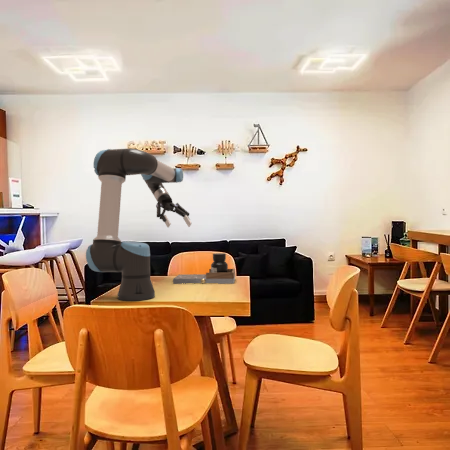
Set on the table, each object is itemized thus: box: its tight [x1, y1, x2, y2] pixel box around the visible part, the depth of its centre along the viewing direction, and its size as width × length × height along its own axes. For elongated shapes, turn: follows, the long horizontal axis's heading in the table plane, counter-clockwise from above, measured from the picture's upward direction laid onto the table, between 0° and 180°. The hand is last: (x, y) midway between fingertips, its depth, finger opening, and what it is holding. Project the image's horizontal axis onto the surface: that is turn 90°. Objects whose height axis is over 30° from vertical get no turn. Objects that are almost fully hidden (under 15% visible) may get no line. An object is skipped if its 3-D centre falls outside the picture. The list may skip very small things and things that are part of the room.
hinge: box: [172, 273, 236, 285], centre depth 203 cm, size 18×31×3 cm, turn 86°
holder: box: [205, 268, 236, 279], centre depth 202 cm, size 16×14×3 cm
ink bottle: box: [210, 252, 229, 273], centre depth 203 cm, size 10×9×12 cm
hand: (180, 225), depth 202 cm, fingers open, 13 cm apart
